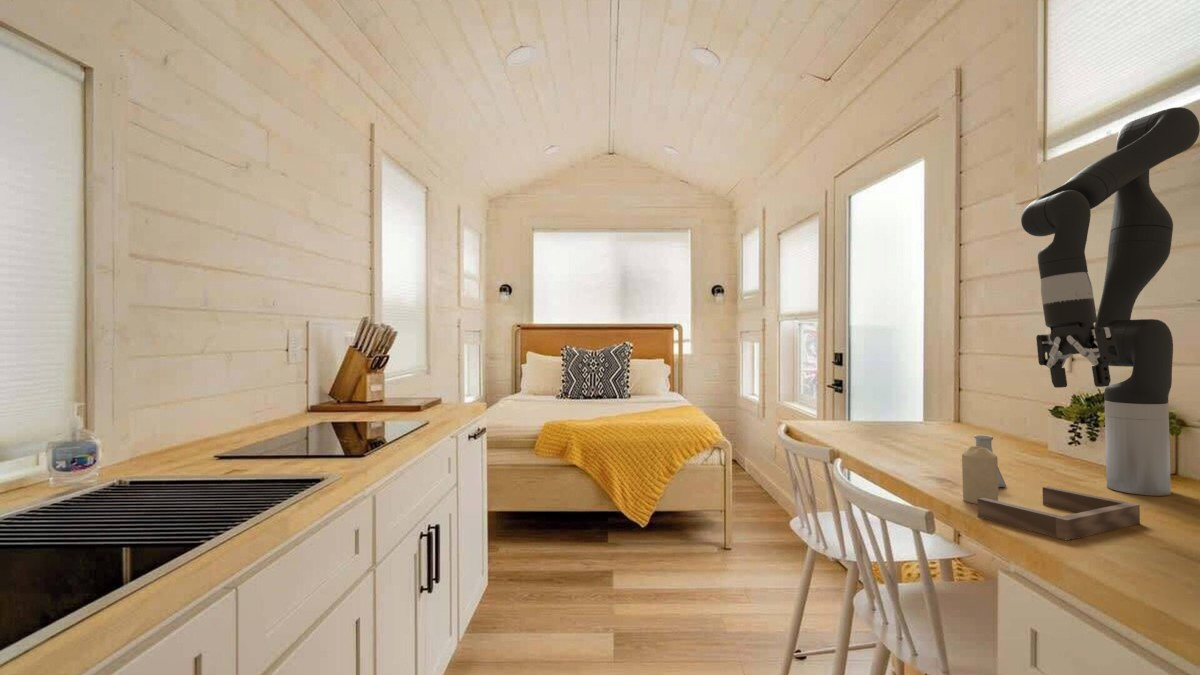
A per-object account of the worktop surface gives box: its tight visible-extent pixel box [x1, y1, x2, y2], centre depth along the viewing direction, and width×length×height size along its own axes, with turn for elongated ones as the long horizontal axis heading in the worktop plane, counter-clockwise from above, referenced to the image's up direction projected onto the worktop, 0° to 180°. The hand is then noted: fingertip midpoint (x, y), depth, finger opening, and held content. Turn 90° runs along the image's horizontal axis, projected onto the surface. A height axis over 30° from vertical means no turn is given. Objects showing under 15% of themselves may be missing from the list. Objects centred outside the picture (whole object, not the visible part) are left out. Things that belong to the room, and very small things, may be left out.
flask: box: [973, 434, 1007, 488], centre depth 121 cm, size 7×7×10 cm
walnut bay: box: [977, 486, 1141, 541], centre depth 97 cm, size 19×14×3 cm
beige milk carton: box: [961, 445, 999, 505], centre depth 108 cm, size 6×6×10 cm
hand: (1080, 387), depth 108 cm, fingers open, 8 cm apart
